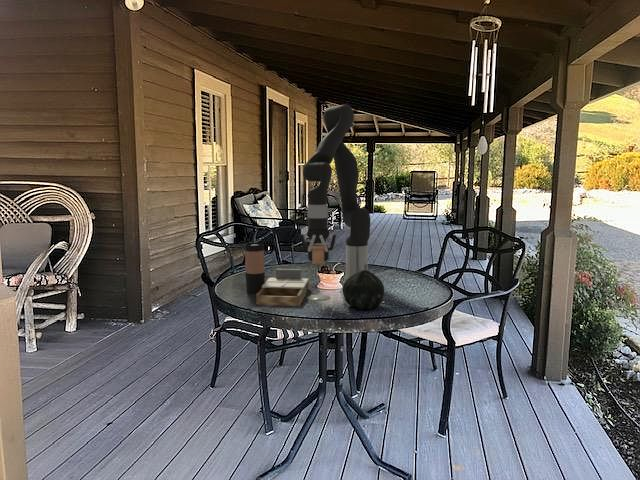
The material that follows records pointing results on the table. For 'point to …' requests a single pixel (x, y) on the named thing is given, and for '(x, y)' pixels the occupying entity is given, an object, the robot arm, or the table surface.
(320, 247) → the pot
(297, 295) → the box
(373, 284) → the squash
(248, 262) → the travel mug
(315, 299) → the saucer
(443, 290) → the table surface
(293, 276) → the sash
